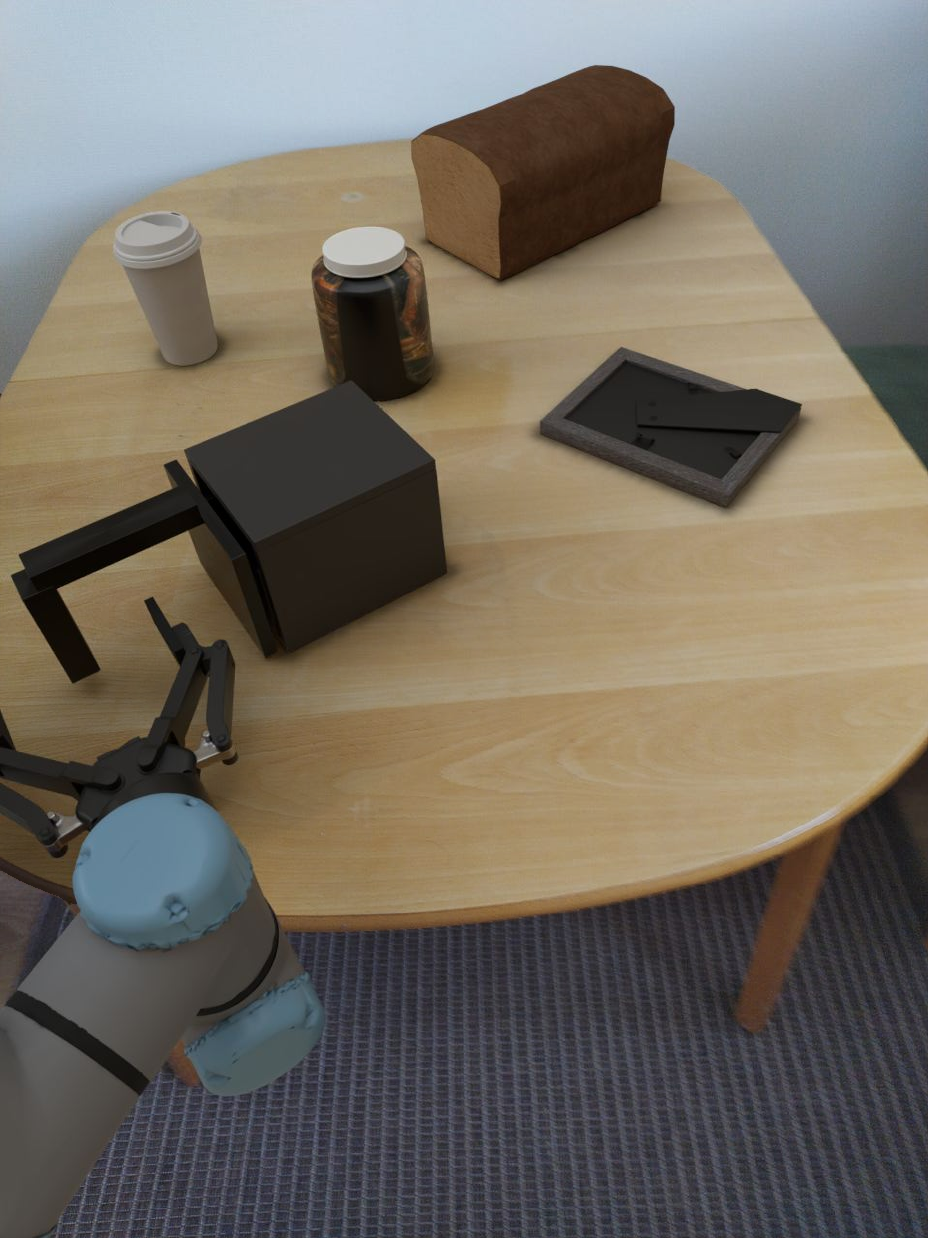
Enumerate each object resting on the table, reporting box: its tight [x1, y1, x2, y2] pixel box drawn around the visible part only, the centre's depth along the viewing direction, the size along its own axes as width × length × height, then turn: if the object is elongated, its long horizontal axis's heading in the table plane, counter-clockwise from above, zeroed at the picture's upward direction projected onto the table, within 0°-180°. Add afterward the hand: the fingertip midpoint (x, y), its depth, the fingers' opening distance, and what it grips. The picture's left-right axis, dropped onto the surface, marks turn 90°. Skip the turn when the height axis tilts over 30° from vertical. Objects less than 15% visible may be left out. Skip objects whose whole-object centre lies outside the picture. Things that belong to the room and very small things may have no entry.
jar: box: [310, 225, 435, 401], centre depth 101 cm, size 12×12×15 cm
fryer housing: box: [183, 380, 448, 654], centre depth 82 cm, size 16×14×13 cm
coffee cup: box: [112, 210, 219, 367], centre depth 107 cm, size 10×10×15 cm
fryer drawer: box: [10, 459, 279, 684], centre depth 78 cm, size 30×14×13 cm, turn 123°
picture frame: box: [539, 346, 803, 509], centre depth 96 cm, size 16×2×21 cm
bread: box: [410, 64, 676, 280], centre depth 122 cm, size 18×30×16 cm, turn 129°
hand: (70, 648), depth 73 cm, fingers open, 13 cm apart
